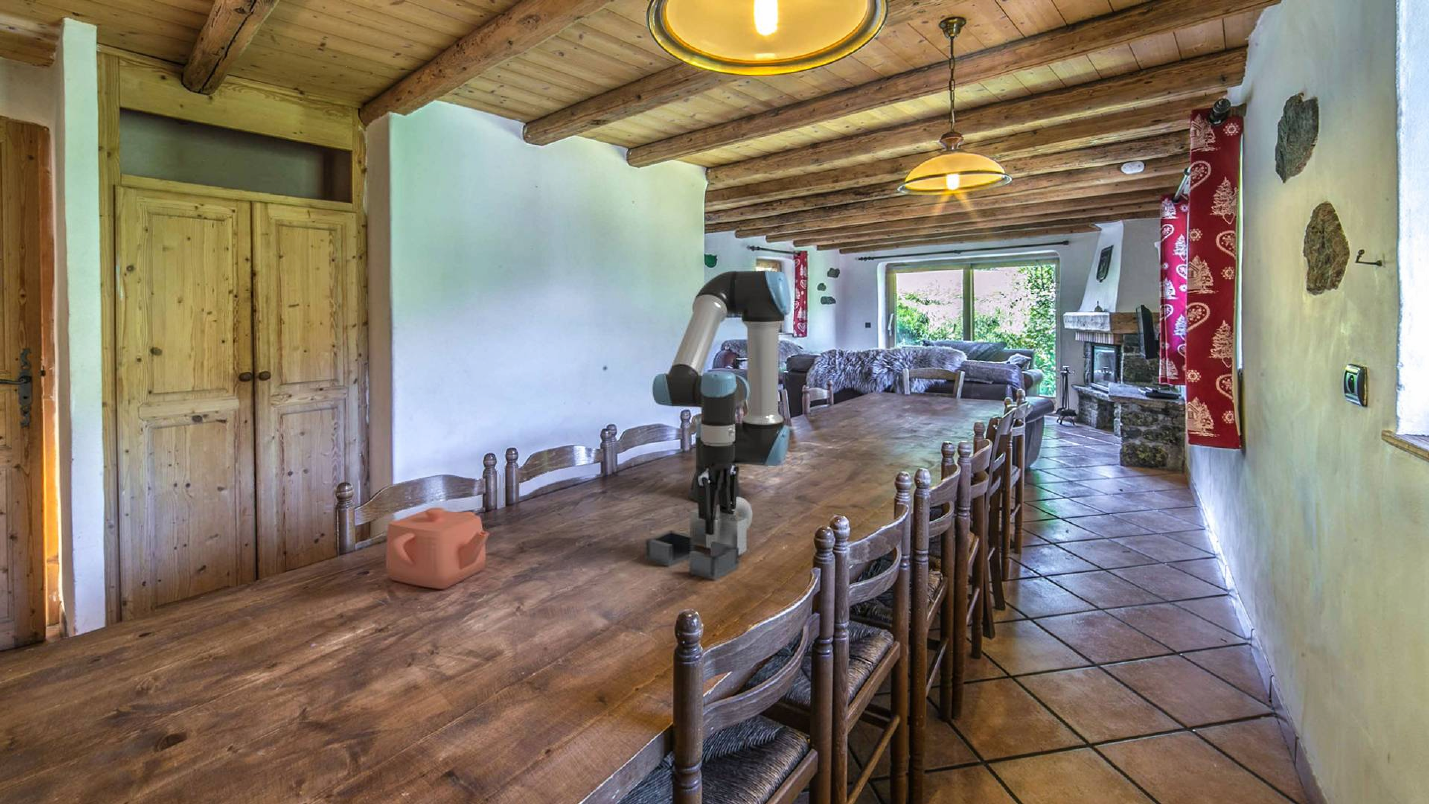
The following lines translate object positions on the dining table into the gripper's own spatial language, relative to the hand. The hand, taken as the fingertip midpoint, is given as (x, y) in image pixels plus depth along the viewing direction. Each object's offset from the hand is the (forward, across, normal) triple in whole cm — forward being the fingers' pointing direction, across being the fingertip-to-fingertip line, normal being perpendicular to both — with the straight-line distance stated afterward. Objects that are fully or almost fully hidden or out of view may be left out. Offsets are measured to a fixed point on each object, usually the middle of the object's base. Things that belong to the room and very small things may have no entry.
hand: (717, 544), depth 152 cm
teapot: (+1, -46, +34) cm, 57 cm away
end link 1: (+2, -10, +6) cm, 11 cm away
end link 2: (+1, -10, -6) cm, 11 cm away
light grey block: (0, 0, 0) cm, 1 cm away
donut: (+2, +10, +3) cm, 11 cm away
